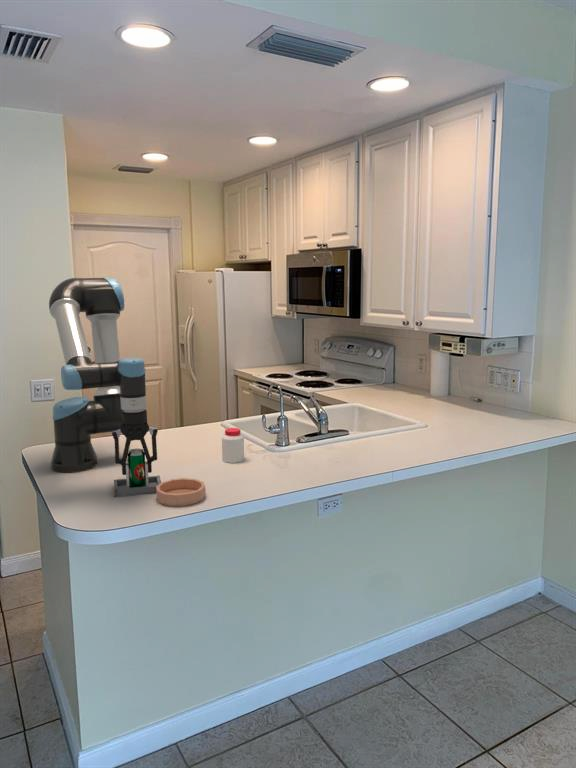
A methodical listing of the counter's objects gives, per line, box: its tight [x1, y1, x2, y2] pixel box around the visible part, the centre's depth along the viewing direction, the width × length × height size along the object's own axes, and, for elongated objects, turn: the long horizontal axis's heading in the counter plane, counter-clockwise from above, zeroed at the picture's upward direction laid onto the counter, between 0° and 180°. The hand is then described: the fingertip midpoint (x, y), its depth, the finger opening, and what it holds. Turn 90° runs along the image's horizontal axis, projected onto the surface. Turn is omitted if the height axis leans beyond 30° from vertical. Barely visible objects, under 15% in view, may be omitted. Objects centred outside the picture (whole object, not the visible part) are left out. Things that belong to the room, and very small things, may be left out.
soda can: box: [127, 448, 146, 488], centre depth 182 cm, size 5×5×12 cm
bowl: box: [155, 477, 207, 507], centre depth 176 cm, size 14×14×3 cm
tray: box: [113, 475, 162, 498], centre depth 183 cm, size 14×10×2 cm
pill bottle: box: [221, 427, 245, 464], centre depth 212 cm, size 8×8×11 cm
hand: (137, 483), depth 183 cm, fingers closed on soda can, 5 cm apart
